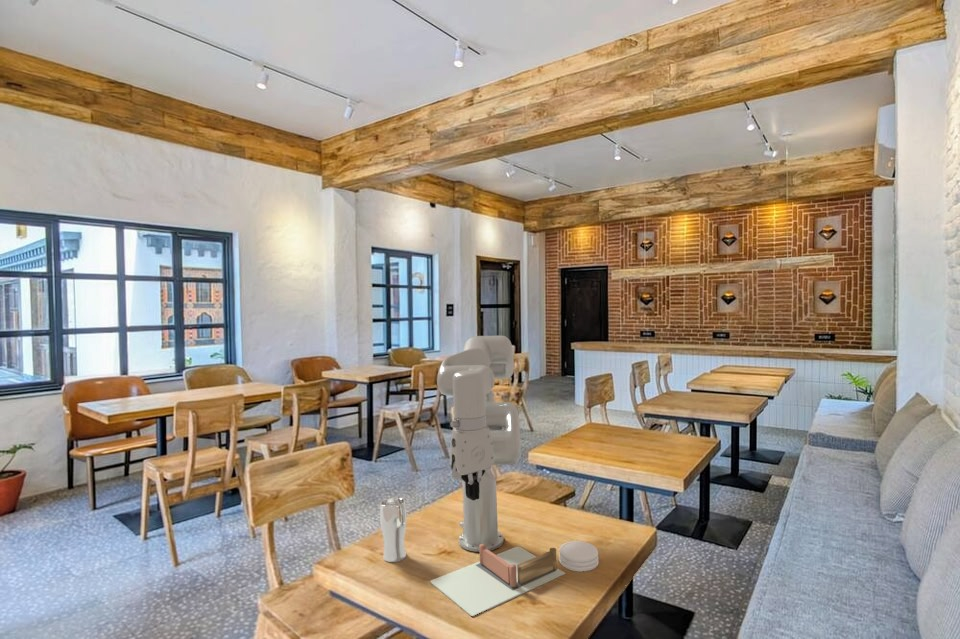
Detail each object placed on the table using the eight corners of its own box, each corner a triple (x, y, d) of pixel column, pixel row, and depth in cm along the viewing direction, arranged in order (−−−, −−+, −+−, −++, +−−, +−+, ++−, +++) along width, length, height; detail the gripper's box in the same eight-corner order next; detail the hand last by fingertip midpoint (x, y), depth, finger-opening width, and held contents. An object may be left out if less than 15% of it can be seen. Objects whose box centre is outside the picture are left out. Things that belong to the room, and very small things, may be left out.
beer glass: (412, 553, 142) (410, 499, 141) (398, 565, 135) (396, 508, 135) (391, 548, 144) (389, 495, 144) (376, 560, 138) (374, 505, 138)
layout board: (429, 582, 127) (429, 580, 127) (518, 547, 143) (518, 545, 143) (472, 617, 112) (472, 615, 112) (564, 573, 128) (564, 572, 128)
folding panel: (518, 585, 122) (517, 566, 122) (512, 587, 122) (512, 568, 121) (483, 560, 135) (483, 543, 134) (478, 562, 134) (478, 544, 134)
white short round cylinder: (552, 558, 137) (551, 544, 137) (584, 550, 141) (584, 537, 140) (572, 576, 128) (572, 562, 127) (606, 567, 131) (606, 553, 131)
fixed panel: (517, 583, 124) (516, 562, 124) (553, 566, 131) (553, 547, 131) (521, 586, 123) (520, 565, 123) (558, 569, 130) (557, 549, 130)
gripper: (452, 431, 116) (455, 512, 117) (504, 420, 125) (506, 494, 126) (434, 425, 122) (437, 501, 123) (485, 414, 131) (488, 485, 132)
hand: (472, 497), depth 125 cm, fingers closed
